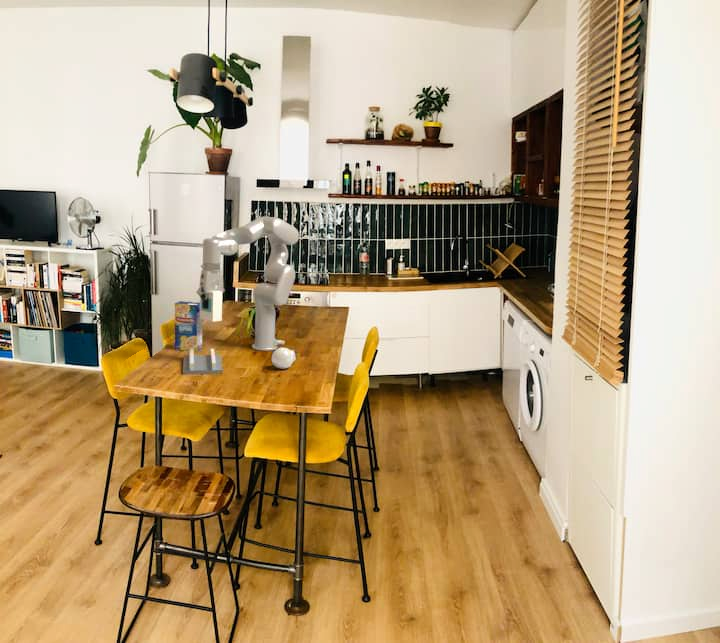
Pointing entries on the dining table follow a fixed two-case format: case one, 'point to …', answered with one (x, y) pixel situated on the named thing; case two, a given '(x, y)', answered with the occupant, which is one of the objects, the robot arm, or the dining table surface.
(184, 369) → the grey slotted holder base
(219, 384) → the dining table surface
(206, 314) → the carton
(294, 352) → the white rounded lump
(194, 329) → the blue food box
